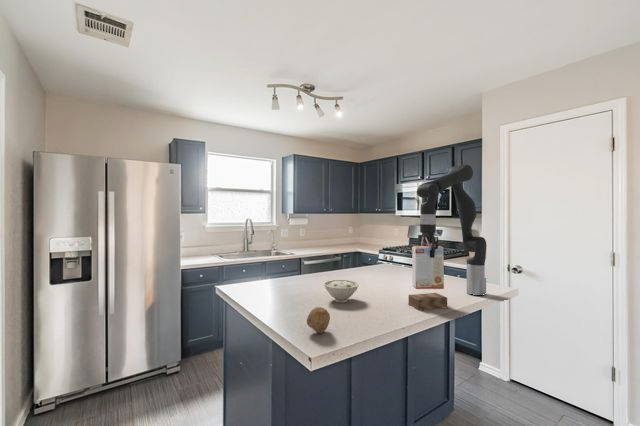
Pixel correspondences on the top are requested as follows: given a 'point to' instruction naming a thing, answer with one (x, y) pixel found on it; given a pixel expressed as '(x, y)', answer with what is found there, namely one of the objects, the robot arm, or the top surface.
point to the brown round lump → (318, 319)
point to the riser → (427, 301)
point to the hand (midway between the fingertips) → (427, 256)
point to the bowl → (341, 289)
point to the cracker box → (427, 268)
